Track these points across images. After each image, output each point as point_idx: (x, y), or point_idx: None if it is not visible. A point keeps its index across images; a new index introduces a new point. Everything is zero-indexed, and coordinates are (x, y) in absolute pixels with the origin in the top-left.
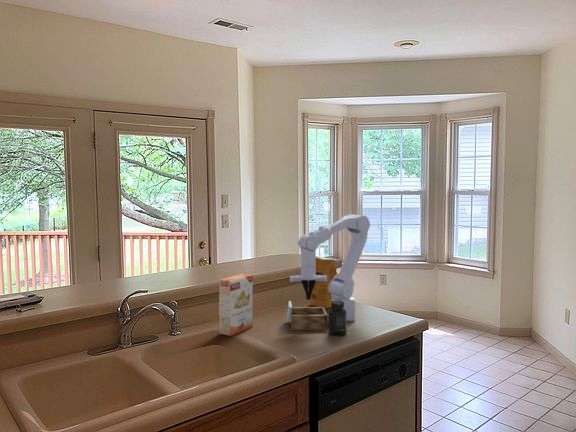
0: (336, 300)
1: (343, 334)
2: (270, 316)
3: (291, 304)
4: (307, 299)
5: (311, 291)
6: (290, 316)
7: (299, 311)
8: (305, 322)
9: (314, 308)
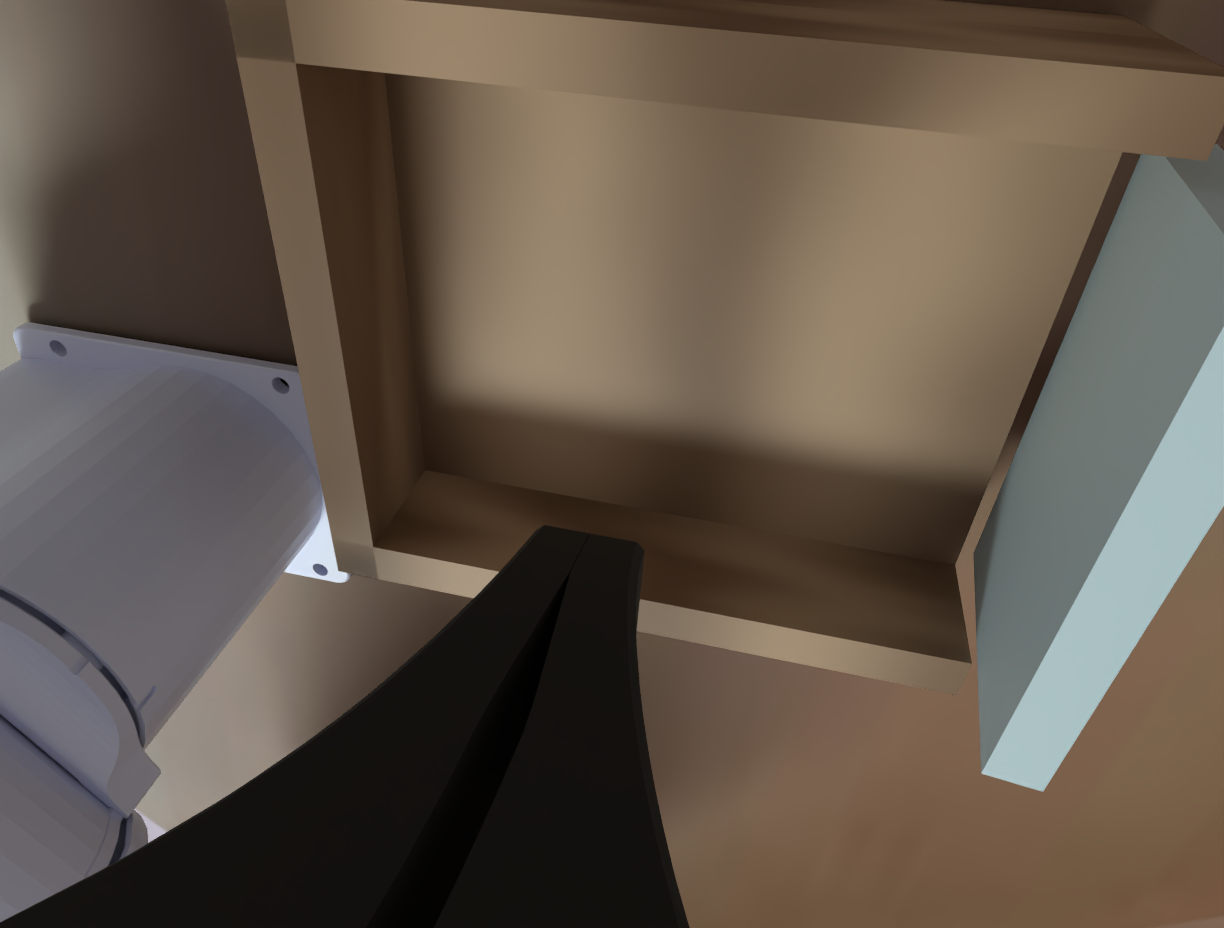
0: (46, 589)
1: None
2: (1153, 742)
3: (1096, 565)
4: (621, 541)
5: (381, 701)
6: (1197, 178)
7: (787, 581)
8: (807, 12)
9: None
